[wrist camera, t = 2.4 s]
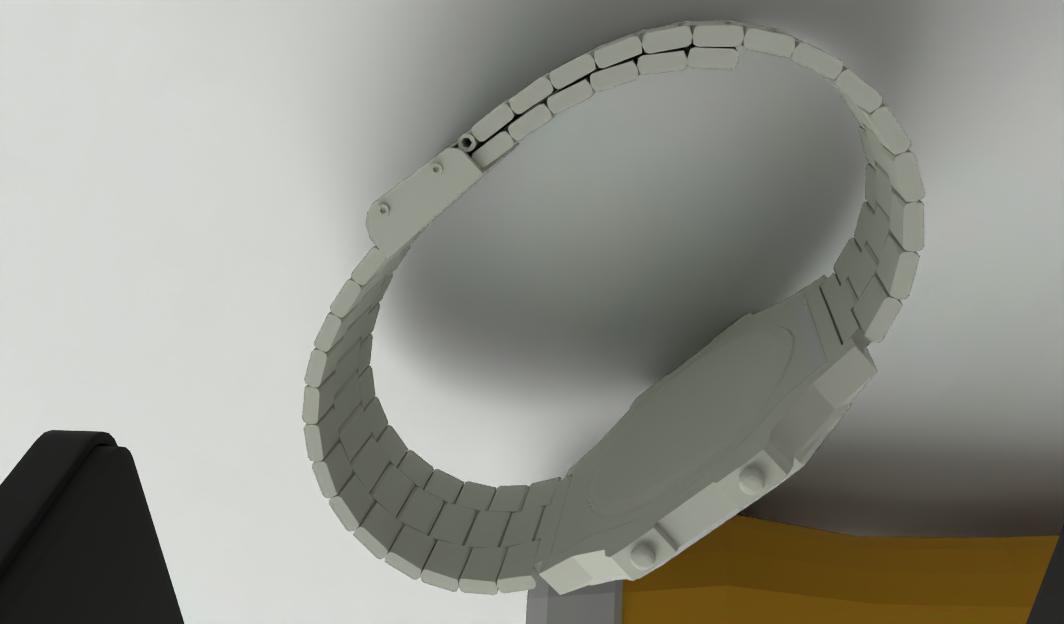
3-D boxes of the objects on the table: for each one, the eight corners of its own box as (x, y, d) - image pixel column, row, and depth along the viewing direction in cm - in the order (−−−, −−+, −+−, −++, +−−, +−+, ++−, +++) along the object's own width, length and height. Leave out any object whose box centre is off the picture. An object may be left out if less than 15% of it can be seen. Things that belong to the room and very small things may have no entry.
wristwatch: (523, 499, 18) (498, 748, 13) (250, 283, 15) (117, 500, 11) (970, 195, 14) (1129, 411, 10) (689, -149, 12) (740, -66, 7)
